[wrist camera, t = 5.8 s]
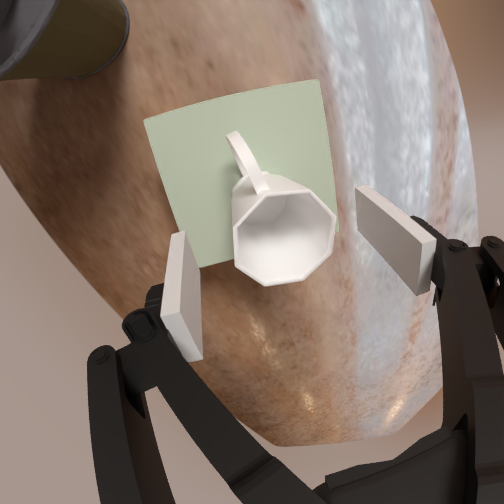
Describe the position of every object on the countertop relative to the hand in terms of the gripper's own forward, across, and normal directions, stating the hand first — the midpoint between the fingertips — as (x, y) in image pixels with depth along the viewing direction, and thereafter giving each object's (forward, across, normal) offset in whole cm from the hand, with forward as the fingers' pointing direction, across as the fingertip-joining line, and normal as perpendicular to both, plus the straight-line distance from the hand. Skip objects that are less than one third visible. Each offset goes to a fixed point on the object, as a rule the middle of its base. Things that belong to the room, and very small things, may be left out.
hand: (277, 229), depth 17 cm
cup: (+10, 0, 0) cm, 10 cm away
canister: (+18, -13, +19) cm, 29 cm away
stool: (+18, 0, 0) cm, 18 cm away
